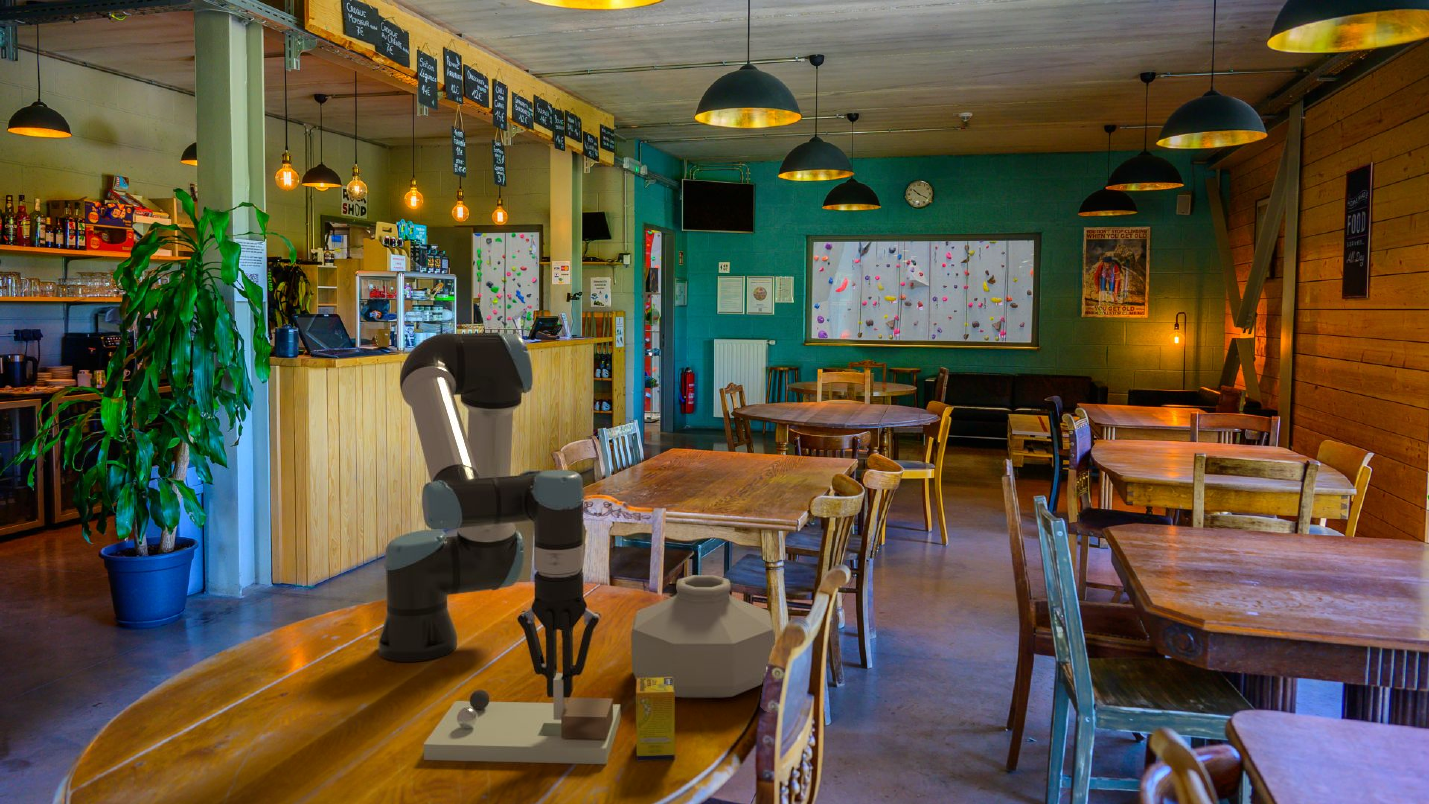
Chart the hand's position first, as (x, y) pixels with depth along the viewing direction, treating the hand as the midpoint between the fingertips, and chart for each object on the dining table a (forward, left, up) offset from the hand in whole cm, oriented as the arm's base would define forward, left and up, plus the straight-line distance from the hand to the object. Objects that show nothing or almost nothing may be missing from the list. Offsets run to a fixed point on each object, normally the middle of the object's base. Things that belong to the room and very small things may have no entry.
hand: (559, 715), depth 152 cm
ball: (-15, 0, -1) cm, 15 cm away
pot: (+21, +28, -5) cm, 36 cm away
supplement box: (+15, -2, -5) cm, 16 cm away
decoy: (-15, +7, -1) cm, 16 cm away
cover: (+4, 0, -2) cm, 5 cm away
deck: (-6, +2, -5) cm, 8 cm away
